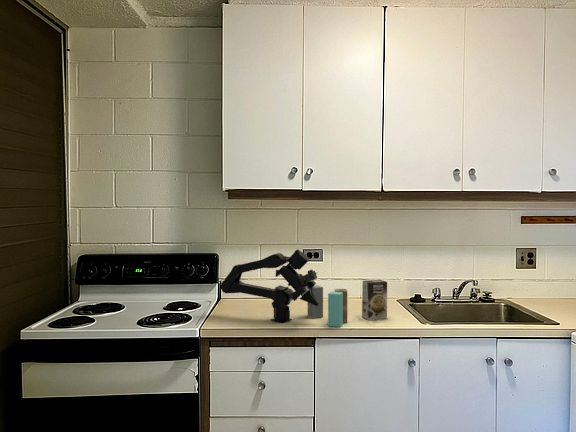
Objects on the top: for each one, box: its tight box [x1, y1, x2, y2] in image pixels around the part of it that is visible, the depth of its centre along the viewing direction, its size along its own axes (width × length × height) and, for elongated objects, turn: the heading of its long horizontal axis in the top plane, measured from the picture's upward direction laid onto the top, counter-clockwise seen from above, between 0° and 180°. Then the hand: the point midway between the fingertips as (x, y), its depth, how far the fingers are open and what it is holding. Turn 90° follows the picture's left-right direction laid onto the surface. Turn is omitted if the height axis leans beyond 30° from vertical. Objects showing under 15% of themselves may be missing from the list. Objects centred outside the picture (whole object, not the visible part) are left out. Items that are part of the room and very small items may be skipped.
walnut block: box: [334, 288, 348, 323], centre depth 186 cm, size 5×5×13 cm
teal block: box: [327, 291, 344, 328], centre depth 180 cm, size 5×5×13 cm
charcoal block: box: [307, 284, 324, 319], centre depth 194 cm, size 5×5×13 cm
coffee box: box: [361, 279, 388, 321], centre depth 191 cm, size 9×6×16 cm
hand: (318, 305), depth 182 cm, fingers closed
